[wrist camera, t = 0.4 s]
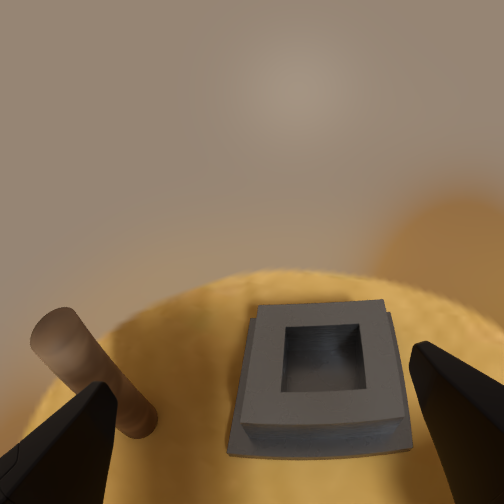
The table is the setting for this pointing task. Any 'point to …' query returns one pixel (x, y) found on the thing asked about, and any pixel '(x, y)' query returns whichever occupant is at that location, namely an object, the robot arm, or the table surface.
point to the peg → (90, 368)
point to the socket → (321, 384)
